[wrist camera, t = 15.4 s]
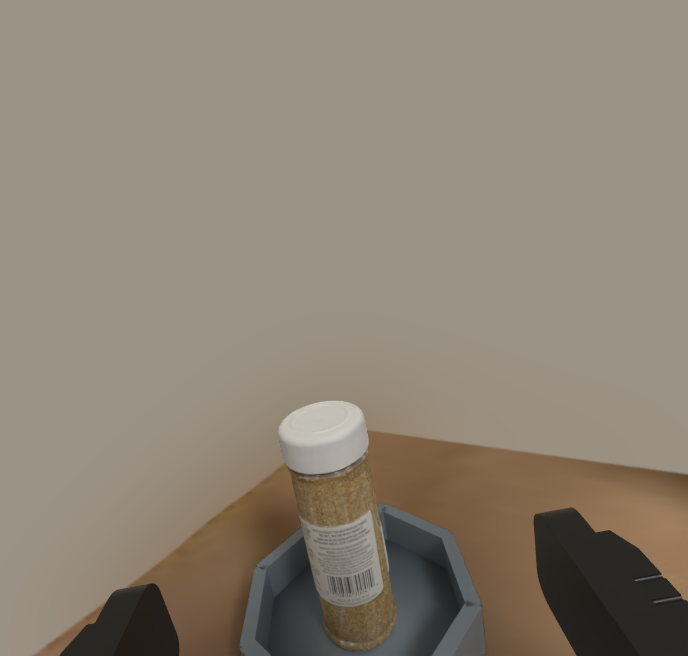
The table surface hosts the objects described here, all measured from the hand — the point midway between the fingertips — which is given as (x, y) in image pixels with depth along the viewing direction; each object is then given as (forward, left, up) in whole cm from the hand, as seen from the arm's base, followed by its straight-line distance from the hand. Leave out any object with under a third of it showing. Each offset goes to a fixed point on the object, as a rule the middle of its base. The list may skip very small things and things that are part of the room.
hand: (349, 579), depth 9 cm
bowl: (+1, -13, -17) cm, 21 cm away
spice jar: (+1, -13, -16) cm, 21 cm away
